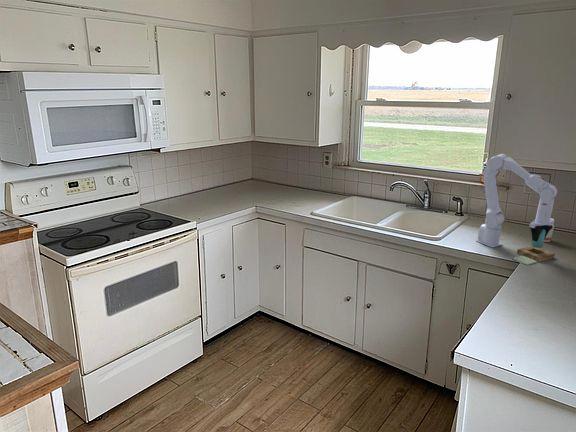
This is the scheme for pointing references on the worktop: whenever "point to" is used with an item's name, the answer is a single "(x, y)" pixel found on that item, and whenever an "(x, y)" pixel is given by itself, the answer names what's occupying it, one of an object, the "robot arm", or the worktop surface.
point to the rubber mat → (525, 260)
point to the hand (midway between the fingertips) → (538, 240)
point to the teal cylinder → (539, 240)
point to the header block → (538, 257)
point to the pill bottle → (549, 234)
